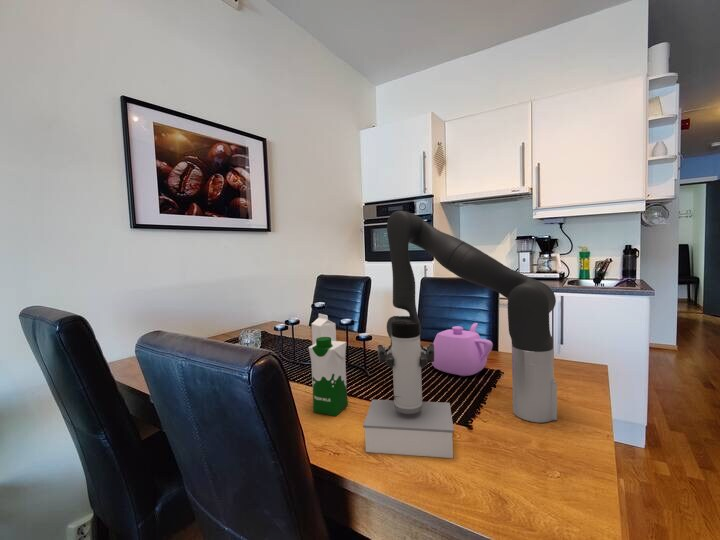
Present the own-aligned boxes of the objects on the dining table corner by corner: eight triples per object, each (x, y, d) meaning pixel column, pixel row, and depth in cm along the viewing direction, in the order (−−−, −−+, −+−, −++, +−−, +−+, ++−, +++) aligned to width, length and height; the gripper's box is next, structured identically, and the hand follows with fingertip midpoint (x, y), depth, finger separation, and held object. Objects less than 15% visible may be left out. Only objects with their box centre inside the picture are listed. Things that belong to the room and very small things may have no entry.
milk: (323, 382, 113) (319, 316, 112) (314, 377, 118) (310, 314, 117) (338, 378, 117) (335, 314, 116) (329, 373, 122) (325, 311, 120)
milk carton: (308, 413, 92) (304, 339, 91) (325, 399, 100) (322, 331, 99) (337, 418, 88) (333, 342, 87) (352, 404, 97) (349, 333, 96)
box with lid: (450, 427, 82) (449, 402, 82) (454, 459, 70) (453, 430, 69) (373, 423, 85) (372, 399, 85) (364, 452, 73) (362, 425, 73)
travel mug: (390, 412, 75) (386, 322, 74) (398, 399, 81) (395, 316, 80) (418, 417, 73) (415, 324, 72) (425, 403, 79) (422, 317, 78)
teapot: (481, 385, 105) (479, 337, 105) (424, 370, 121) (422, 328, 120) (511, 366, 121) (510, 323, 120) (457, 355, 136) (456, 317, 136)
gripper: (377, 328, 91) (372, 347, 75) (432, 327, 90) (440, 346, 73) (378, 356, 92) (374, 380, 75) (433, 355, 90) (441, 380, 74)
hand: (407, 363), depth 74 cm, fingers closed on travel mug, 6 cm apart
